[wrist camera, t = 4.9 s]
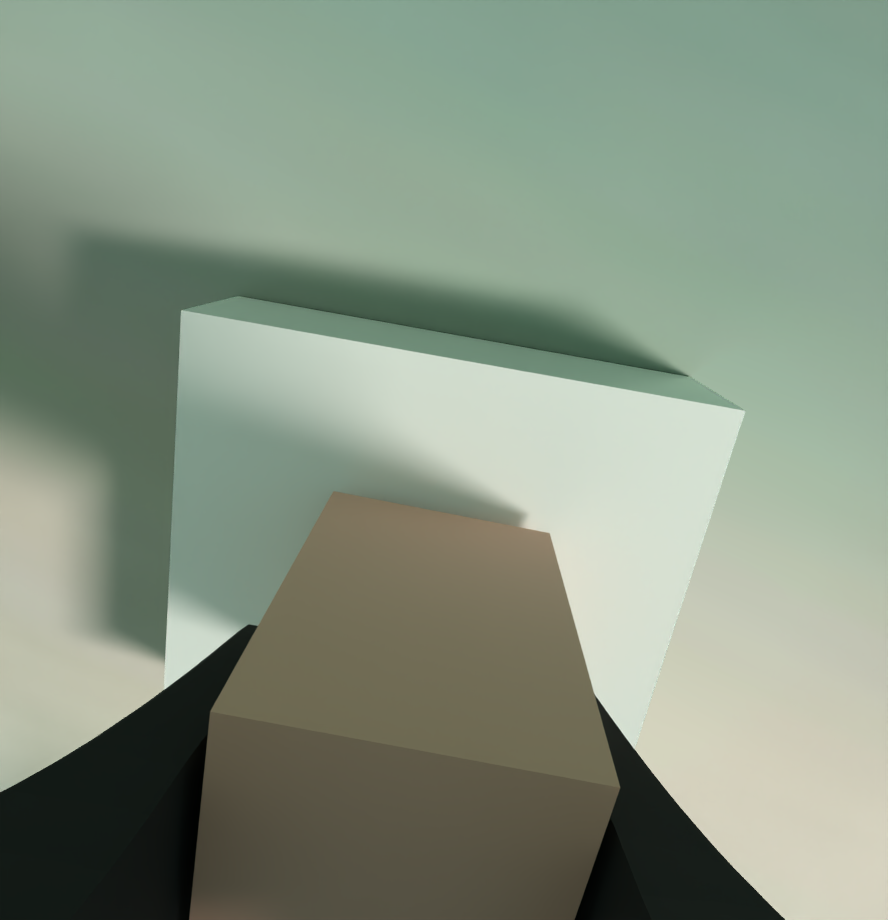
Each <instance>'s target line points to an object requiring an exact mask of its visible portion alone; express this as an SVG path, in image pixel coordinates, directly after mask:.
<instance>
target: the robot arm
mask: <svg viewBox="0 0 888 920" xmlns="http://www.w3.org/2000/svg"><path fill="white" fill-rule="evenodd" d="M257 627H258V626H256V625H250V624H248V625H247V626H245V627H244V628H242V629H241V630H239V631H238V632H237V633H236V634H234V635H233V636H232V637H231V638H230V639H228V640H227V641H226V642H225V643H223V644H222V645H221V646H220V647H219V648H217V649H216V650H215V651H214V652H212V653H211V654H210V655H209V656H207V657H206V658H205V659H204V660H202V661H201V662H200V663H199V664H197V665H196V666H195V667H194V668H192V669H191V670H190V671H188V672H187V673H186V674H185V675H183V676H182V677H181V678H179V679H178V680H177V681H175V682H174V683H173V684H171V685H170V686H168V687H167V688H166V689H164V690H163V691H162V692H160V693H159V694H158V695H156V696H155V697H154V698H152V699H151V700H150V701H148V702H147V703H146V704H144V705H143V706H141V707H140V708H138V709H137V710H135V711H134V712H132V713H131V714H129V715H128V716H127V717H125V718H124V719H122V720H121V721H119V722H118V723H116V724H115V725H113V726H112V727H110V728H109V729H107V730H106V731H104V732H103V733H101V734H100V735H98V736H97V737H95V738H94V739H92V740H91V741H89V742H88V743H86V744H84V745H83V746H81V747H79V748H78V749H76V750H75V751H73V752H71V753H70V754H68V755H67V756H65V757H63V758H61V759H60V760H58V761H56V762H55V763H53V764H51V765H50V766H48V767H46V768H44V769H42V770H41V771H39V772H37V773H35V774H34V775H32V776H30V777H28V778H27V779H25V780H23V781H21V782H19V783H17V784H15V785H14V786H12V787H10V788H8V789H6V790H4V791H2V792H0V920H189V916H190V906H191V897H192V887H193V877H194V867H195V857H196V847H197V837H198V827H199V817H200V807H201V798H202V788H203V778H204V768H205V758H206V748H207V738H208V728H209V718H210V711H211V709H212V707H213V706H214V704H215V702H216V700H217V698H218V697H219V695H220V693H221V691H222V690H223V688H224V686H225V684H226V682H227V681H228V679H229V677H230V675H231V673H232V672H233V670H234V668H235V666H236V664H237V663H238V661H239V659H240V657H241V656H242V654H243V652H244V650H245V648H246V647H247V645H248V643H249V641H250V639H251V638H252V636H253V634H254V632H255V630H256V629H257ZM594 695H595V694H594ZM595 698H596V702H597V705H598V709H599V713H600V716H601V720H602V723H603V727H604V731H605V734H606V738H607V741H608V745H609V749H610V752H611V756H612V759H613V763H614V767H615V770H616V774H617V777H618V781H619V785H620V790H619V793H618V796H617V799H616V802H615V805H614V807H613V810H612V813H611V816H610V819H609V822H608V825H607V828H606V830H605V833H604V836H603V839H602V842H601V845H600V848H599V851H598V854H597V856H596V859H595V862H594V865H593V868H592V871H591V874H590V877H589V880H588V882H587V885H586V888H585V891H584V894H583V897H582V900H581V903H580V905H579V908H578V911H577V914H576V917H575V920H785V919H784V918H783V917H782V916H781V915H780V914H779V913H778V912H777V911H776V910H775V909H774V908H773V907H772V906H771V905H770V904H769V903H768V902H767V901H766V900H765V899H764V898H763V897H762V896H761V895H760V894H759V893H758V892H757V891H756V890H755V889H754V888H753V887H752V886H751V885H750V884H749V883H748V882H747V881H746V880H745V879H744V878H743V877H742V876H741V875H740V874H739V873H738V872H737V871H736V870H735V869H734V868H733V867H732V866H731V865H730V863H729V862H728V861H727V860H726V859H725V858H724V857H723V856H722V855H721V854H720V853H719V852H718V850H717V849H716V848H715V847H714V846H713V845H712V844H711V843H710V842H709V840H708V839H707V838H706V837H705V836H704V835H703V833H702V832H701V831H700V830H699V829H698V828H697V826H696V825H695V824H694V823H693V822H692V821H691V819H690V818H689V817H688V816H687V815H686V814H685V812H684V811H683V810H682V809H681V808H680V807H679V805H678V804H677V803H676V802H675V801H674V799H673V798H672V797H671V796H670V794H669V793H668V792H667V791H666V789H665V788H664V787H663V786H662V784H661V783H660V782H659V781H658V779H657V778H656V777H655V776H654V774H653V773H652V772H651V770H650V769H649V768H648V767H647V765H646V764H645V763H644V761H643V760H642V759H641V757H640V756H639V755H638V753H637V752H636V751H635V749H634V748H633V747H632V745H631V744H630V743H629V741H628V740H627V739H626V737H625V736H624V734H623V733H622V732H621V730H620V729H619V728H618V726H617V725H616V723H615V722H614V721H613V719H612V718H611V717H610V715H609V714H608V712H607V711H606V710H605V708H604V707H603V705H602V704H601V703H600V701H599V700H598V698H597V697H596V696H595Z"/></svg>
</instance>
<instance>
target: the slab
mask: <svg viewBox="0 0 888 920" xmlns="http://www.w3.org/2000/svg"><path fill="white" fill-rule="evenodd" d="M744 414H745V410H743V409H742V408H740V407H738V406H737V405H735V404H734V403H732V402H730V401H729V400H727V399H726V398H724V397H722V396H721V395H719V394H718V393H716V392H714V391H713V390H711V389H709V388H708V387H706V386H705V385H703V384H701V383H700V382H698V381H697V380H695V379H693V378H692V377H687V376H682V375H676V374H671V373H665V372H659V371H654V370H648V369H643V368H637V367H631V366H626V365H620V364H615V363H609V362H604V361H598V360H592V359H587V358H581V357H576V356H570V355H565V354H559V353H553V352H548V351H542V350H537V349H531V348H525V347H520V346H514V345H509V344H503V343H498V342H492V341H486V340H481V339H475V338H470V337H464V336H459V335H453V334H447V333H442V332H436V331H431V330H425V329H419V328H414V327H408V326H403V325H397V324H392V323H386V322H380V321H375V320H369V319H364V318H358V317H353V316H347V315H341V314H336V313H330V312H325V311H319V310H313V309H308V308H302V307H297V306H291V305H286V304H280V303H274V302H269V301H263V300H258V299H252V298H247V297H241V296H236V297H232V298H228V299H224V300H220V301H216V302H212V303H208V304H204V305H200V306H196V307H192V308H188V309H184V310H181V324H180V346H179V368H178V390H177V412H176V434H175V456H174V478H173V500H172V522H171V544H170V566H169V588H168V610H167V632H166V654H165V676H164V689H166V688H167V687H168V686H170V685H171V684H173V683H174V682H175V681H177V680H178V679H179V678H181V677H182V676H183V675H185V674H186V673H187V672H188V671H190V670H191V669H192V668H194V667H195V666H196V665H197V664H199V663H200V662H201V661H202V660H204V659H205V658H206V657H207V656H209V655H210V654H211V653H212V652H214V651H215V650H216V649H217V648H219V647H220V646H221V645H222V644H223V643H225V642H226V641H227V640H228V639H230V638H231V637H232V636H233V635H234V634H236V633H237V632H238V631H239V630H241V629H242V628H244V627H245V626H247V625H248V624H250V625H256V626H258V625H259V623H260V622H261V620H262V618H263V616H264V614H265V613H266V611H267V609H268V607H269V605H270V604H271V602H272V600H273V598H274V596H275V595H276V593H277V591H278V589H279V588H280V586H281V584H282V582H283V580H284V579H285V577H286V575H287V573H288V571H289V570H290V568H291V566H292V564H293V562H294V561H295V559H296V557H297V555H298V553H299V552H300V550H301V548H302V546H303V545H304V543H305V541H306V539H307V537H308V536H309V534H310V532H311V530H312V528H313V527H314V525H315V523H316V521H317V519H318V518H319V516H320V514H321V512H322V511H323V509H324V507H325V505H326V503H327V502H328V500H329V498H330V496H331V494H332V493H333V491H336V492H341V493H346V494H351V495H356V496H361V497H366V498H372V499H377V500H382V501H387V502H392V503H397V504H403V505H408V506H413V507H418V508H423V509H428V510H433V511H439V512H444V513H449V514H454V515H459V516H464V517H469V518H475V519H480V520H485V521H490V522H495V523H500V524H506V525H511V526H516V527H521V528H526V529H531V530H536V531H542V532H547V533H550V536H551V540H552V543H553V547H554V551H555V554H556V558H557V561H558V565H559V569H560V572H561V576H562V579H563V583H564V587H565V590H566V594H567V597H568V601H569V605H570V608H571V612H572V615H573V619H574V623H575V626H576V630H577V633H578V637H579V641H580V644H581V648H582V651H583V655H584V659H585V662H586V666H587V669H588V673H589V677H590V680H591V684H592V687H593V691H594V694H595V696H596V697H597V698H598V700H599V701H600V703H601V704H602V705H603V707H604V708H605V710H606V711H607V712H608V714H609V715H610V717H611V718H612V719H613V721H614V722H615V723H616V725H617V726H618V728H619V729H620V730H621V732H622V733H623V734H624V736H625V737H626V739H627V740H628V741H629V743H630V744H631V745H632V747H633V748H634V749H635V746H636V743H637V740H638V737H639V734H640V731H641V728H642V725H643V722H644V719H645V716H646V713H647V710H648V707H649V704H650V701H651V698H652V694H653V691H654V688H655V685H656V682H657V679H658V676H659V673H660V670H661V667H662V664H663V661H664V658H665V655H666V652H667V649H668V646H669V643H670V640H671V636H672V633H673V630H674V627H675V624H676V621H677V618H678V615H679V612H680V609H681V606H682V603H683V600H684V597H685V594H686V591H687V588H688V585H689V582H690V578H691V575H692V572H693V569H694V566H695V563H696V560H697V557H698V554H699V551H700V548H701V545H702V542H703V539H704V536H705V533H706V530H707V527H708V523H709V520H710V517H711V514H712V511H713V508H714V505H715V502H716V499H717V496H718V493H719V490H720V487H721V484H722V481H723V478H724V475H725V472H726V469H727V465H728V462H729V459H730V456H731V453H732V450H733V447H734V444H735V441H736V438H737V435H738V432H739V429H740V426H741V423H742V420H743V417H744Z"/></svg>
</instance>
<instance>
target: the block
mask: <svg viewBox="0 0 888 920" xmlns="http://www.w3.org/2000/svg"><path fill="white" fill-rule="evenodd" d="M619 790H620V785H619V781H618V777H617V774H616V770H615V767H614V763H613V759H612V756H611V752H610V749H609V745H608V741H607V738H606V734H605V731H604V727H603V723H602V720H601V716H600V713H599V709H598V705H597V702H596V698H595V695H594V691H593V687H592V684H591V680H590V677H589V673H588V669H587V666H586V662H585V659H584V655H583V651H582V648H581V644H580V641H579V637H578V633H577V630H576V626H575V623H574V619H573V615H572V612H571V608H570V605H569V601H568V597H567V594H566V590H565V587H564V583H563V579H562V576H561V572H560V569H559V565H558V561H557V558H556V554H555V551H554V547H553V543H552V540H551V536H550V533H547V532H542V531H536V530H531V529H526V528H521V527H516V526H511V525H506V524H500V523H495V522H490V521H485V520H480V519H475V518H469V517H464V516H459V515H454V514H449V513H444V512H439V511H433V510H428V509H423V508H418V507H413V506H408V505H403V504H397V503H392V502H387V501H382V500H377V499H372V498H366V497H361V496H356V495H351V494H346V493H341V492H336V491H333V493H332V494H331V496H330V498H329V500H328V502H327V503H326V505H325V507H324V509H323V511H322V512H321V514H320V516H319V518H318V519H317V521H316V523H315V525H314V527H313V528H312V530H311V532H310V534H309V536H308V537H307V539H306V541H305V543H304V545H303V546H302V548H301V550H300V552H299V553H298V555H297V557H296V559H295V561H294V562H293V564H292V566H291V568H290V570H289V571H288V573H287V575H286V577H285V579H284V580H283V582H282V584H281V586H280V588H279V589H278V591H277V593H276V595H275V596H274V598H273V600H272V602H271V604H270V605H269V607H268V609H267V611H266V613H265V614H264V616H263V618H262V620H261V622H260V623H259V625H258V627H257V629H256V630H255V632H254V634H253V636H252V638H251V639H250V641H249V643H248V645H247V647H246V648H245V650H244V652H243V654H242V656H241V657H240V659H239V661H238V663H237V664H236V666H235V668H234V670H233V672H232V673H231V675H230V677H229V679H228V681H227V682H226V684H225V686H224V688H223V690H222V691H221V693H220V695H219V697H218V698H217V700H216V702H215V704H214V706H213V707H212V709H211V711H210V718H209V728H208V738H207V748H206V758H205V768H204V778H203V788H202V798H201V807H200V817H199V827H198V837H197V847H196V857H195V867H194V877H193V887H192V897H191V906H190V916H189V920H575V917H576V914H577V911H578V908H579V905H580V903H581V900H582V897H583V894H584V891H585V888H586V885H587V882H588V880H589V877H590V874H591V871H592V868H593V865H594V862H595V859H596V856H597V854H598V851H599V848H600V845H601V842H602V839H603V836H604V833H605V830H606V828H607V825H608V822H609V819H610V816H611V813H612V810H613V807H614V805H615V802H616V799H617V796H618V793H619Z"/></svg>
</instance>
